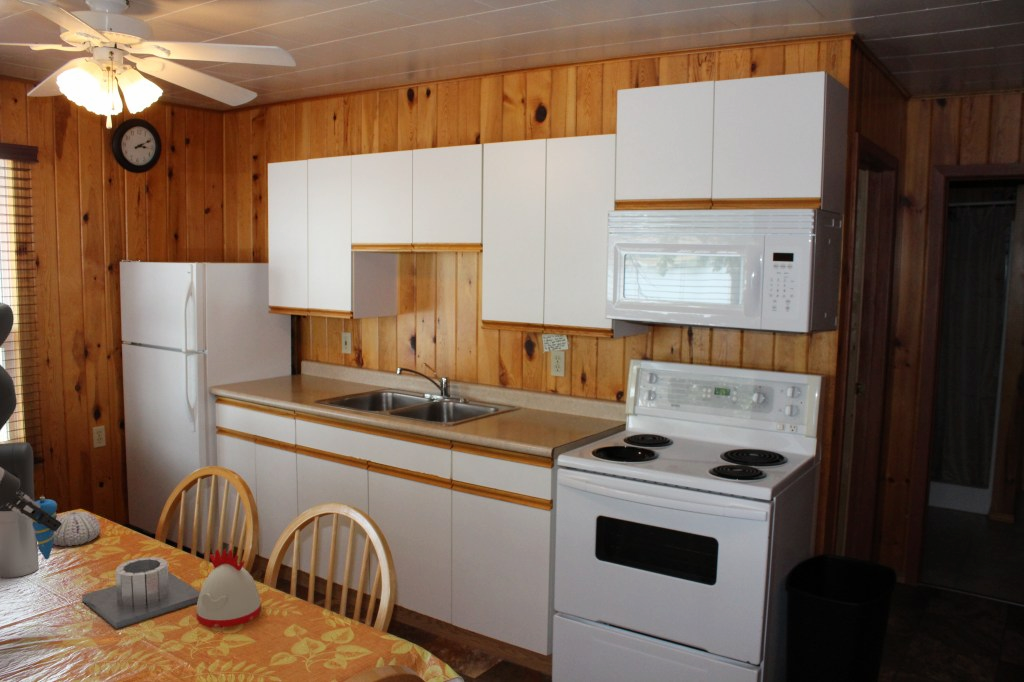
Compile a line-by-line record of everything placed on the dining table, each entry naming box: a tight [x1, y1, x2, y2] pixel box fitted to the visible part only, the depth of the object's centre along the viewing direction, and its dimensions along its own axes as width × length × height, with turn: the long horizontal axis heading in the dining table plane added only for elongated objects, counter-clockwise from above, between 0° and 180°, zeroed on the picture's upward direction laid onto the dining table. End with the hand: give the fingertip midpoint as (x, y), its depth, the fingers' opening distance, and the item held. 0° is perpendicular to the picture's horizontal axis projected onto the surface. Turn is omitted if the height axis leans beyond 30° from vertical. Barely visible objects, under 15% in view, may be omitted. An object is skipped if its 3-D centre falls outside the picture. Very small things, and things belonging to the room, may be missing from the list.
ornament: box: [32, 496, 58, 560], centre depth 181 cm, size 5×5×15 cm
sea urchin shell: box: [53, 510, 102, 547], centre depth 230 cm, size 13×14×8 cm
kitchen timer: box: [196, 548, 262, 628], centre depth 186 cm, size 14×14×15 cm
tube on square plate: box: [81, 556, 200, 630], centre depth 192 cm, size 20×20×8 cm
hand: (53, 523), depth 182 cm, fingers closed on ornament, 5 cm apart
